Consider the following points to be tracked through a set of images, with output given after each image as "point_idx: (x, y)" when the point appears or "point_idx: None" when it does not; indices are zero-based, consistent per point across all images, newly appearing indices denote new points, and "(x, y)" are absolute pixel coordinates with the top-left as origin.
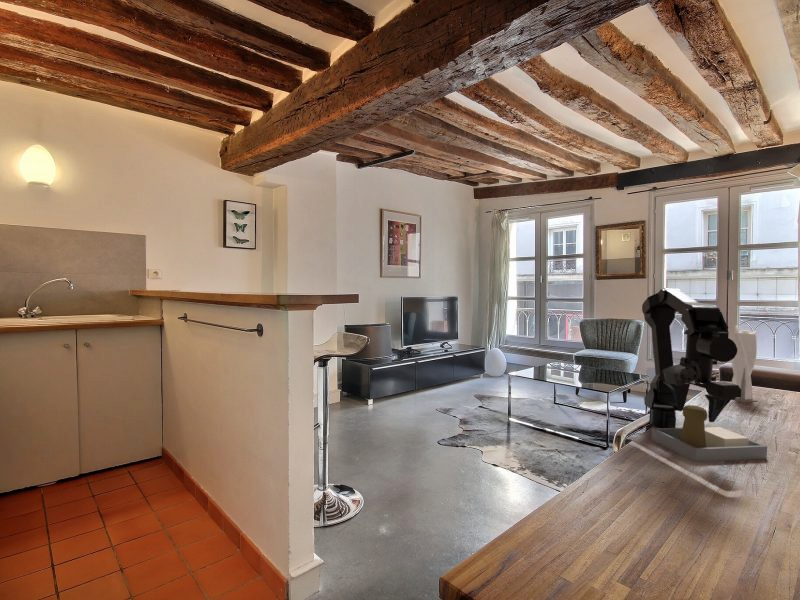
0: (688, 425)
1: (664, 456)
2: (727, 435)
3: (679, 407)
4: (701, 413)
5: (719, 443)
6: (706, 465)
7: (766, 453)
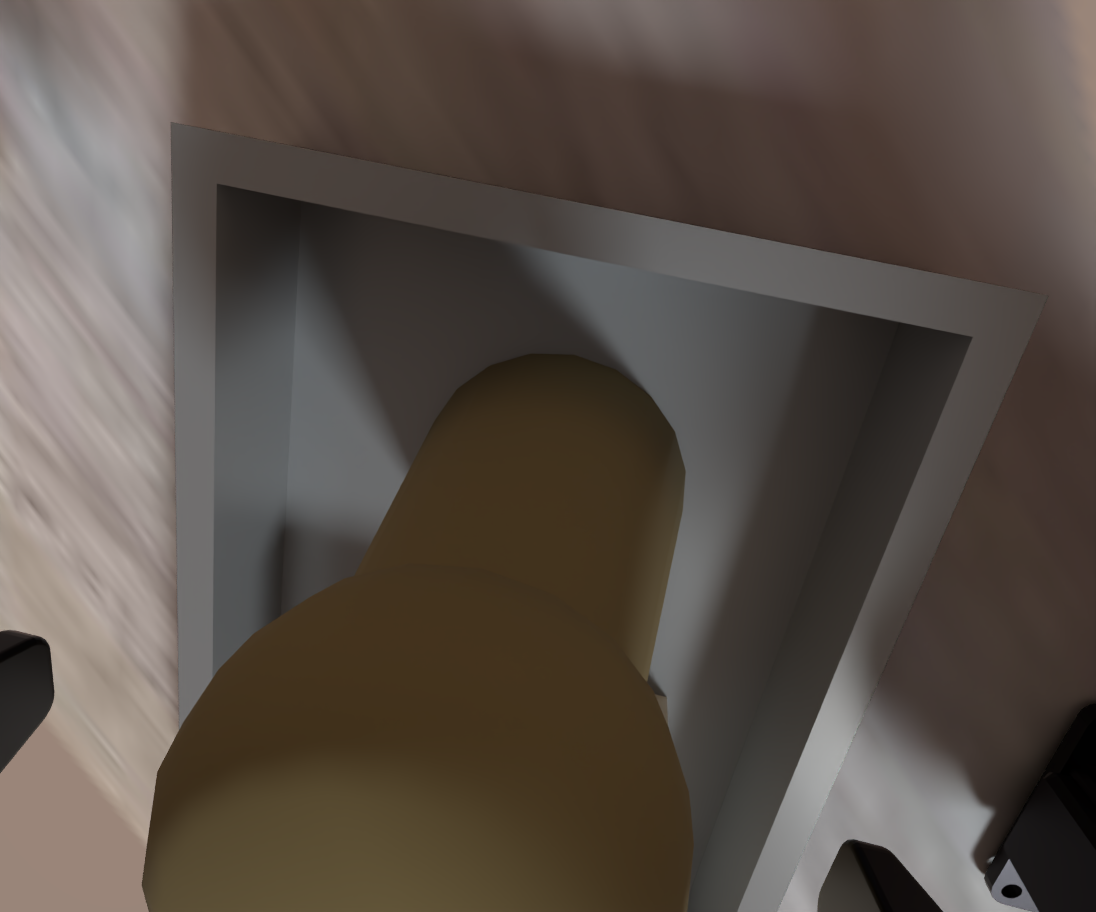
0: (479, 508)
1: (581, 31)
2: None
3: (871, 908)
4: (157, 779)
5: None
6: None
7: None
